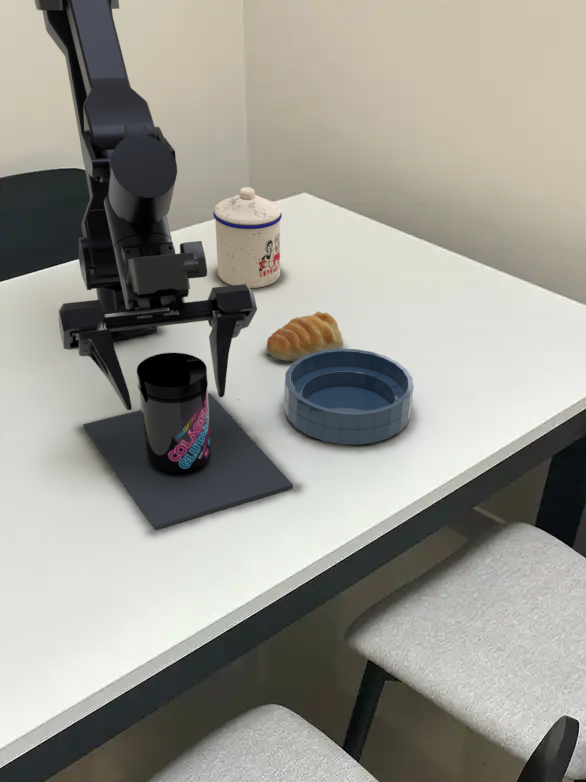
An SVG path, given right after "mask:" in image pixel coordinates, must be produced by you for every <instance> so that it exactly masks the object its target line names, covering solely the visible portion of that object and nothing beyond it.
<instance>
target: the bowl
mask: <svg viewBox="0 0 586 782" xmlns="http://www.w3.org/2000/svg"><path fill="white" fill-rule="evenodd" d="M284 377H285V378H284V413H285V415H286V417H287V419H288V421H289V423H291V424H292V425H293V426H294V427H295V429H297V430H298V431H300V432H302V433H304V434H306V435H307V436H309V437H312V438H315V439H317V440H320V441H323V442H327V443H333V444H338V445H365V444H373V443H378V442H381V441H384V440H387V439H390V438H391V437H393V436H395V435H398V434H399V433H400V432H401V431H402V430H403V429H404V428H406V426H407V425H408V423H409V420H410V418H411V413H412V403H413V395H414V386H415V385H414V379H413V377H412V375H411V374H410V372H409V370H408V369H407V368H406V367H405V366H403V365H402V364H401V363H399V362H398V361H397V360H395V359H392V358H390V357H389V356H386V355H383V354H380V353H377V352H374V351H370V350H364V349H358V348H357V349H356V348H340V349H330V350H323V351H318V352H314V353H310V354H308V355H306V356H304V357H301V358H299V359H298V360H296V361H293V362H292V363H291V364H290V365H289V367H288V369H287V370H286V371H285V375H284Z"/></svg>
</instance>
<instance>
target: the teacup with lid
mask: <svg viewBox="0 0 586 782" xmlns="http://www.w3.org/2000/svg"><path fill="white" fill-rule="evenodd" d="M212 215H213V218H214V220H215V221H214V222H215V239H216V241H215V242H216V261H217V262H216V263H217V264H216V265H217V276H218V277H219V279H220V280H221V281H223V282H224V283H226V284H228V285H229V286H232V285H241V284H246V285H247V286H248V287H249V288H250V289H257V288H262V287H266V286H270V285H272V284H274V283H275V282H277V281H278V280H279V278H280V276H281V219H282V217H283V214H282V211H281V208H280V207H279V206H278V204H277V203H275V202H273V201H272V200H270V199H267V198H263V197H262V196H260V195H257V194H256V190H255V189H254V188H252V187H249V186H244V187H241V188H240V189H239V193H238V194H236V195H233V196H232V197H228V198H226V199H225V198H224V199H223V200H220V201H219V202H217V204H216V205H215V206H214V210H213V213H212Z"/></svg>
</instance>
